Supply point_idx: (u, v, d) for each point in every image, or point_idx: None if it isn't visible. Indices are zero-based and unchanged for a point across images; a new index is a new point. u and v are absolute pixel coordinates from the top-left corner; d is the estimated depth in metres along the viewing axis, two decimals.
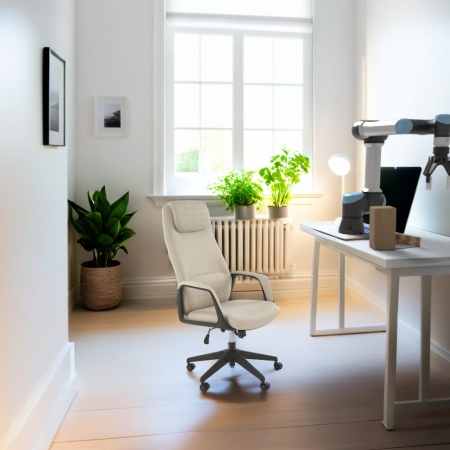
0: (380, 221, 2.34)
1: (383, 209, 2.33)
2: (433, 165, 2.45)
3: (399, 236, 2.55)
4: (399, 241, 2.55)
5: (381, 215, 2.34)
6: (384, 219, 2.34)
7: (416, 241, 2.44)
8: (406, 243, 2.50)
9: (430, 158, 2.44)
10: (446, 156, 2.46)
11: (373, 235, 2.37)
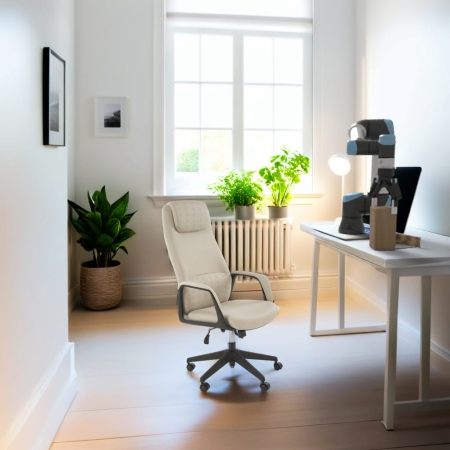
0: (380, 221, 2.34)
1: (384, 209, 2.33)
2: None
3: (399, 236, 2.55)
4: (399, 241, 2.55)
5: (381, 215, 2.33)
6: (384, 219, 2.34)
7: (416, 241, 2.44)
8: (406, 243, 2.50)
9: None
10: (387, 178, 2.33)
11: (373, 235, 2.37)
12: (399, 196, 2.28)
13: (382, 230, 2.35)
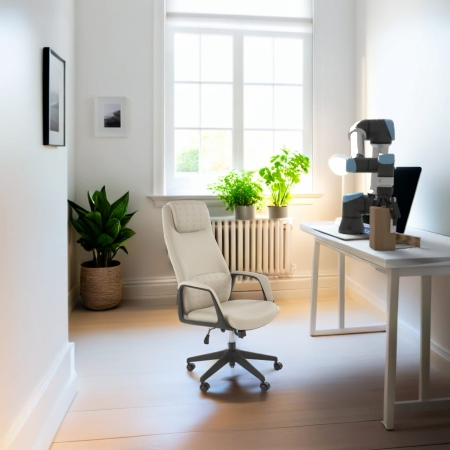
0: (380, 221, 2.34)
1: (383, 209, 2.33)
2: None
3: (399, 236, 2.55)
4: (399, 241, 2.55)
5: (381, 215, 2.34)
6: (384, 219, 2.34)
7: (416, 241, 2.44)
8: (406, 243, 2.50)
9: None
10: (386, 197, 2.35)
11: (373, 235, 2.37)
12: (398, 215, 2.30)
13: (382, 230, 2.35)
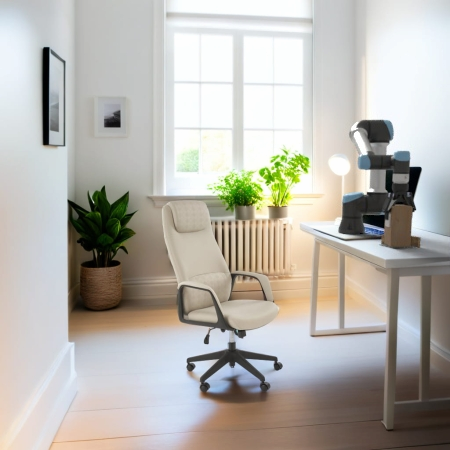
0: None
1: None
2: (392, 202, 2.42)
3: None
4: None
5: None
6: None
7: (416, 241, 2.44)
8: None
9: (389, 195, 2.41)
10: (405, 192, 2.44)
11: (407, 233, 2.42)
12: None
13: None
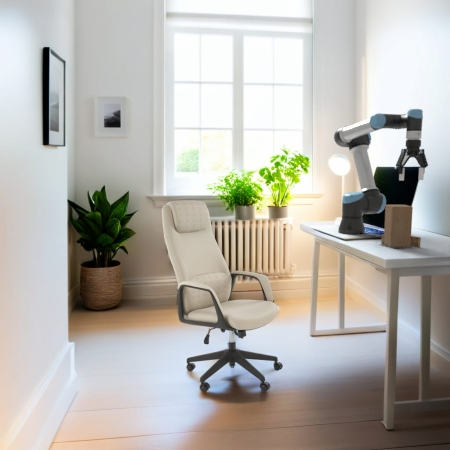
0: None
1: None
2: (406, 157, 2.59)
3: None
4: None
5: None
6: None
7: (416, 241, 2.44)
8: None
9: (403, 151, 2.58)
10: (418, 149, 2.61)
11: (407, 233, 2.42)
12: None
13: None
